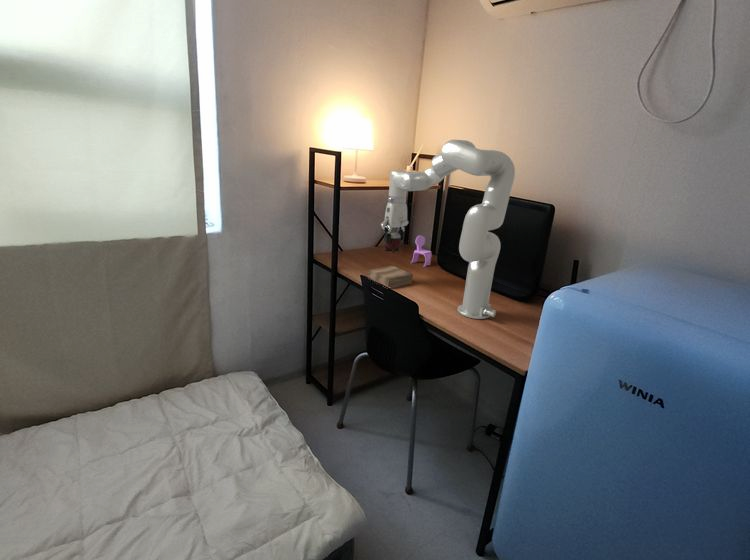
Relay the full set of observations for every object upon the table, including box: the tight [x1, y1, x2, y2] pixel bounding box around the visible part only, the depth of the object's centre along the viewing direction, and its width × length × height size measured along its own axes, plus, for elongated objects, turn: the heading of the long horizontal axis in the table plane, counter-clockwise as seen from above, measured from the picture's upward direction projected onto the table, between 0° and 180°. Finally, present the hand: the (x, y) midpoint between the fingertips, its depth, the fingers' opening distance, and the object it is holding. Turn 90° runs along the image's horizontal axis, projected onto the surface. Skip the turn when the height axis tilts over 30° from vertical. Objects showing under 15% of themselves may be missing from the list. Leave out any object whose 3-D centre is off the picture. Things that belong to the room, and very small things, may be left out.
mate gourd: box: [384, 218, 408, 254], centre depth 180 cm, size 8×8×15 cm
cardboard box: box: [368, 265, 413, 289], centre depth 186 cm, size 14×14×5 cm
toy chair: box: [410, 234, 433, 268], centre depth 215 cm, size 8×9×15 cm
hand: (393, 240), depth 181 cm, fingers closed on mate gourd, 7 cm apart
